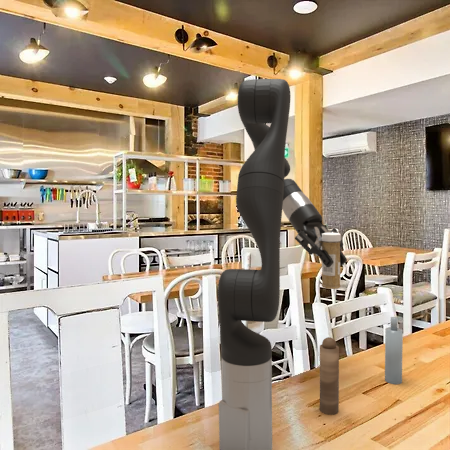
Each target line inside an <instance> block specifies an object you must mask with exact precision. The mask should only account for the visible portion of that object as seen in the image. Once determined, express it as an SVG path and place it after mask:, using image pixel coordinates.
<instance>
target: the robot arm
mask: <svg viewBox="0 0 450 450" xmlns="http://www.w3.org/2000/svg"><path fill="white" fill-rule="evenodd" d="M238 87H239V88H238V91H237V109H238V115H239V118H240V121H241V122H242V125H243V127H244V129H245V131H246V134H247V135H248V137H249V139H250V141H251V143H252V145H253V148H254V151H253V152H252V153H251V154H250V155H249V156H248V157H247V158H246V160H245V162H244V163H243V164H242V166H241V168H240V170H239V172H238V177H237V187H236V196H235V204H236V208H237V211H238V214H239V215H240V217H241V219H242V221H243V222H244V224H245V226H246V227H247V229H248V231H249V232H250V234H251V236H252V237H253V239H254V240H253V241H254V242H255V243H256V246H257V248H258V252H259V255H260V260H261V261H260V263H261V268H260V269H247V268H245V269H243V268H242V269H241V268H228V269H225V270H223V272H222V273H221V274H220V277H219V278H218V279H219V280H218V284H217V309H218V320H219V321H218V322H219V340H220V341H219V342H220V353H221V354H220V355H221V358H220V359H221V400H220V401H219V402H218V434H219V435H218V436H219V437H218V438H219V439H218V440H219V441H218V443H219V444H218V445H219V450H273V385H272V383H273V381H272V380H273V375H272V373H273V368H272V366H273V365H272V363H273V361H272V358H273V357H272V353H273V352H272V348H273V347H272V343H271V341H270V340H269V339H268V338H267V337H266V336H264V335H262V334H259V333H258V332H256V331H254V330H251V329H250V328H249V327H248V326H246V325H245V324H244V323H243V322H245V321H246V322H258V323H259V322H261V323H270V322H273V321H275V319H276V318H277V315H278V312H279V307H280V297H281V295H280V292H281V291H280V290H281V289H280V288H281V283H280V281H281V279H280V277H281V274H280V273H281V270H280V269H281V268H280V267H281V266H280V262H281V259H280V258H281V257H280V256H281V254H280V253H281V251H280V248H281V244H280V243H281V242H280V241H281V228H282V226H281V225H282V215H283V214H284V215H285V216H286V218H287V219H288V221H289V223H290V225H291V226H292V227H293V229H294V230H295V231H296V233H297V234H296V235H295V237H294V239H295V241H296V242H297V243H298V244H299V245H300V246H301V247H302V248H303V249H304V250H305V251H306V252H307V253H308V254H309V255H315V256H316V257H318V259H320V261H321V263H322V262H323V264H324V265H325V266H326V267H330V266H331V265H332V264H333V263H334V261H333V260H332V258H331V257H330V255H329V254H328V253H327V251H326V250H324V247H323V244H322V242H323V241H322V234H323V233H339V232H338V229H336V228H335V227H333V228H332V229H328V227H327V226H326V225H324V224H323V216H322V215H321V213H320V211H319V210H318V209H317V208H316V207H315V205H314V204H313V203H312V201H311V199H310V198H309V197H308V196H307V195H306V194H305V193H304V192H303V191H302V189H301V188H300V186H299V185H298V183H297V182H296V181H295V180H294V179H292V178H286V177H287V176H289V174H290V172H291V166H290V163H289V161H288V160H287V158H286V142H287V133H288V128H289V118H290V117H289V116H290V109H291V89H290V88H291V87H290V85H289V83H288V81H287V80H286V79H281V78H260V79H259V78H255V79H254V78H253V79H247V80H243V81H241V83H240V84H239V86H238ZM267 124H270V126H269V125H267ZM309 246H310V247H309ZM343 246H344V242H343V241H342V239H341V241H340V266H344V265H345V264H346V263H347V261H348V258H347V257H346V255H345V254H344V253H343V251H342V250H341V248H342V247H343Z"/></svg>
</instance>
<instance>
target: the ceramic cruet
mask: <svg viewBox="0 0 450 450" xmlns="http://www.w3.org/2000/svg"><path fill="white" fill-rule="evenodd" d="M398 322H399V321H398V317H396V316H391V317H390V326H388V327H385V329H384V330H385V331H384V332H385V334H384V339H385V340H384V342H385V344H384V381H385V382H386V383H388V384H390V385H401V384H402V383H403V344H404V343H403V342H404V340H403V338H404V337H403V336H404V335H403V334H404V333H403V332H404V330H403V329H402V328H399V327H398Z"/></svg>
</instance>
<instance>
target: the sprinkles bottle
mask: <svg viewBox="0 0 450 450" xmlns="http://www.w3.org/2000/svg"><path fill="white" fill-rule="evenodd" d="M341 240H342V234H341V233H339V232H338V233H323V234H322V241H323V242H322V244H323V247H324V250H326V251H327V253H328V254H329V255H330V257H331V258H332V260H333V261H334V263H333V264H332V265H331V266H330V267H326V266H325V265H324V264H323V262H322V261H321V274H322V279H321V280H322V284H321V288H323V289H329V290H337V289H340V288H341V265H340V250H341V248H340V241H341Z"/></svg>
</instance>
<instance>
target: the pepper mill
mask: <svg viewBox="0 0 450 450" xmlns="http://www.w3.org/2000/svg"><path fill="white" fill-rule="evenodd" d="M339 375H340V347H339V345H338V344H337V341H336V340H335V339H334V338H333V337H326V338H324V339H323V340H322V342H321V344H320V345H319V411H320V412H321V413H323V414H325V415H328V416H332V415H333V416H334V415H336V414H338V413H339V411H340V410H339V409H340V408H339V407H340V405H339V404H340V403H339V402H340V399H339V398H340V397H339V395H340V391H339V390H340V380H339V379H340V376H339Z"/></svg>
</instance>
